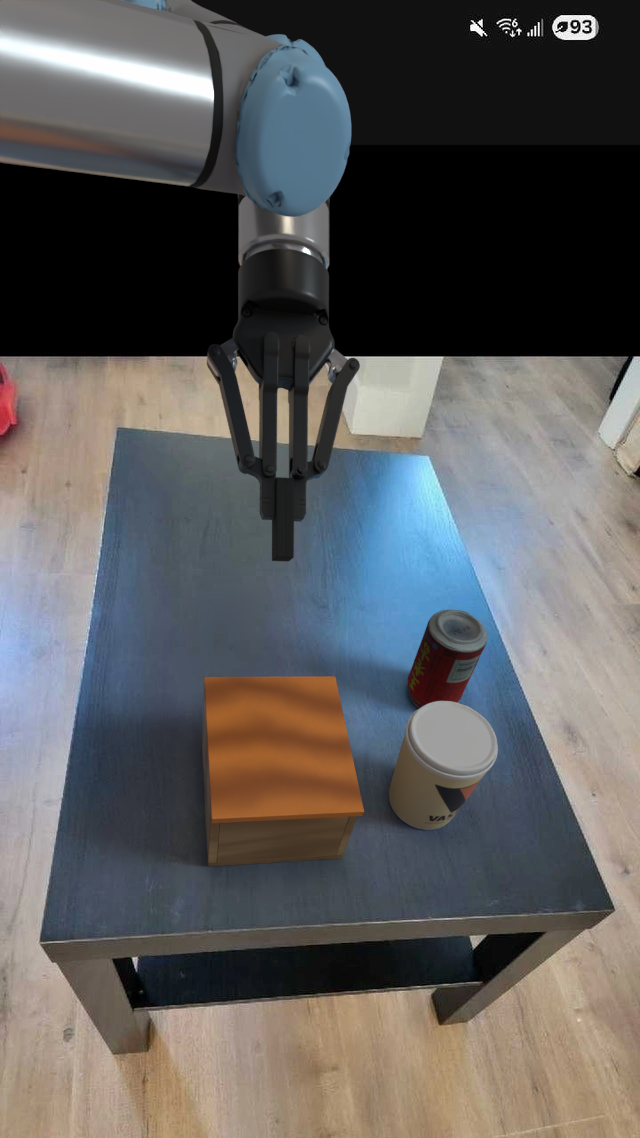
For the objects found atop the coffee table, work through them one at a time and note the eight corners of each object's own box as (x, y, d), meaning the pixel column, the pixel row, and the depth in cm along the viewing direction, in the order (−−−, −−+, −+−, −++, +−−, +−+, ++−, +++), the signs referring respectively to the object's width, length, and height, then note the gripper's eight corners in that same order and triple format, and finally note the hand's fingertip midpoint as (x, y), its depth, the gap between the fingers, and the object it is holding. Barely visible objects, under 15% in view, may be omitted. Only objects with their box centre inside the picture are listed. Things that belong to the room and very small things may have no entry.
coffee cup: (424, 853, 72) (458, 789, 63) (363, 792, 76) (388, 724, 67) (479, 808, 77) (519, 743, 68) (420, 753, 81) (450, 684, 72)
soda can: (469, 704, 87) (502, 635, 78) (428, 725, 84) (457, 655, 74) (433, 668, 90) (461, 597, 81) (392, 687, 87) (416, 615, 78)
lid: (362, 816, 62) (364, 811, 62) (211, 823, 59) (211, 818, 59) (334, 681, 72) (335, 676, 72) (204, 681, 70) (204, 676, 69)
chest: (342, 858, 70) (361, 807, 63) (207, 867, 67) (210, 814, 60) (320, 737, 80) (334, 681, 72) (201, 740, 77) (204, 682, 70)
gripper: (349, 300, 62) (345, 566, 64) (202, 283, 59) (203, 561, 61) (372, 254, 54) (367, 556, 56) (206, 232, 52) (207, 550, 54)
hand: (282, 558), depth 59 cm, fingers closed
